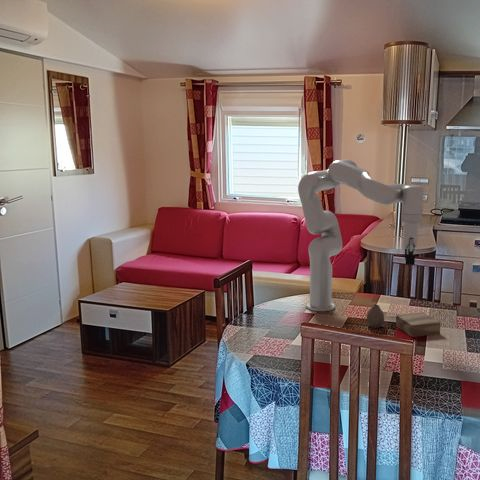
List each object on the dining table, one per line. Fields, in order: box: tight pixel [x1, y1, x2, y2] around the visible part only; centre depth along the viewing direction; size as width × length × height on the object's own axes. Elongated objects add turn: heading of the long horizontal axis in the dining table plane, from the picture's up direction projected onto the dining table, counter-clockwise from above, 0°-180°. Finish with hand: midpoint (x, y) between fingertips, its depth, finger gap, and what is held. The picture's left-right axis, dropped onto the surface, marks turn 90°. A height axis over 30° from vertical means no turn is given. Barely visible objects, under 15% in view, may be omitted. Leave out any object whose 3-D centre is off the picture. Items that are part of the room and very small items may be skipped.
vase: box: [365, 304, 385, 329], centre depth 216 cm, size 7×7×9 cm
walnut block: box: [395, 312, 442, 338], centre depth 212 cm, size 12×12×5 cm
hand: (409, 261), depth 210 cm, fingers open, 9 cm apart
